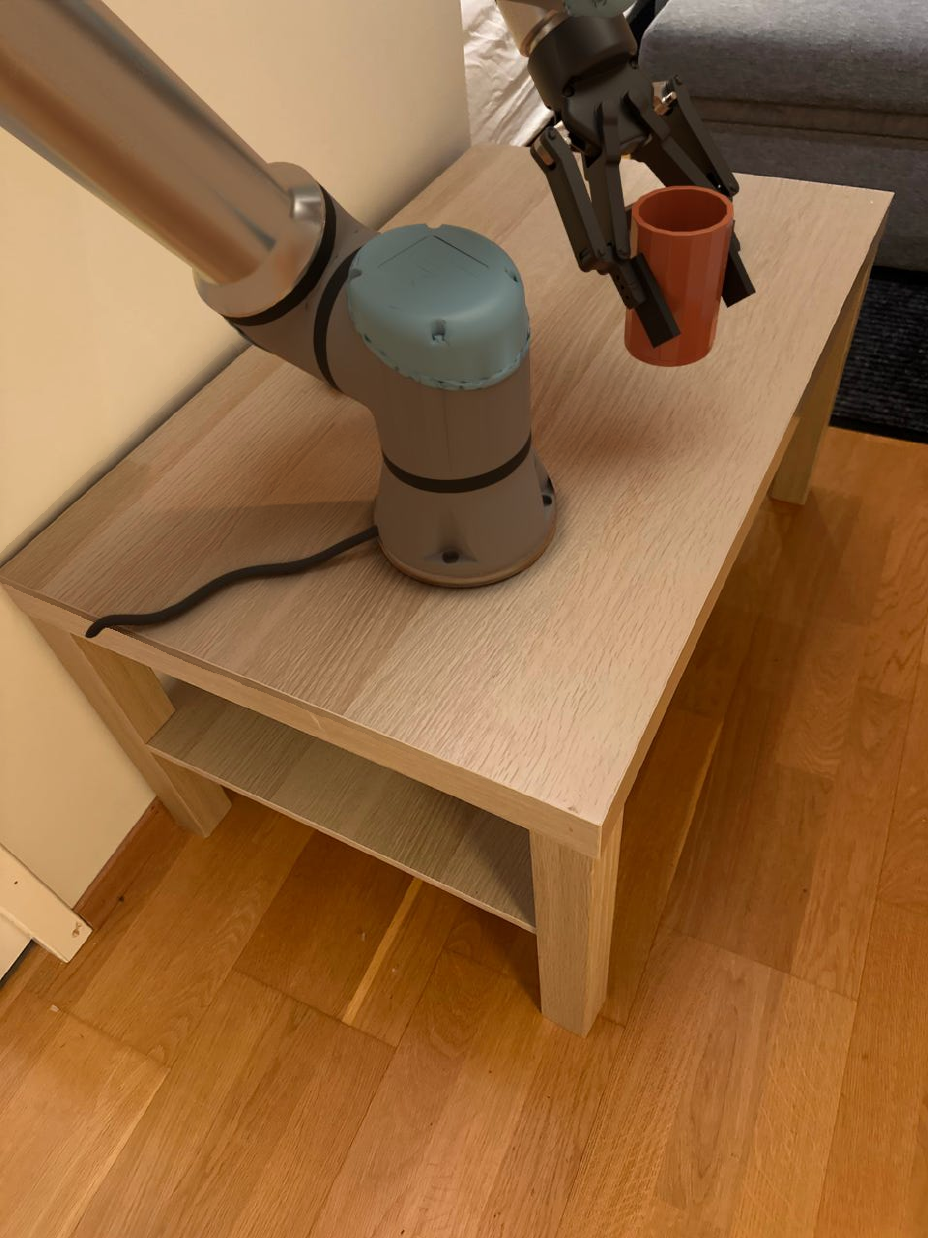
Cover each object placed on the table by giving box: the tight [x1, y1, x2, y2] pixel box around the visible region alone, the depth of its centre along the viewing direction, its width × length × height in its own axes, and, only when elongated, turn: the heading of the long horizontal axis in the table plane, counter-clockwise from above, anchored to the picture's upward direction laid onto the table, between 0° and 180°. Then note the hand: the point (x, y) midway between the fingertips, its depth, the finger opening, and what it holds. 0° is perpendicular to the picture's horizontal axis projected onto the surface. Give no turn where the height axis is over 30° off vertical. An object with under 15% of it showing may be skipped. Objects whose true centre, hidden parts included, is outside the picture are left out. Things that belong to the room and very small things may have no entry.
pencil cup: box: [623, 186, 735, 368], centre depth 69 cm, size 7×7×11 cm
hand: (704, 319), depth 69 cm, fingers closed on pencil cup, 7 cm apart
